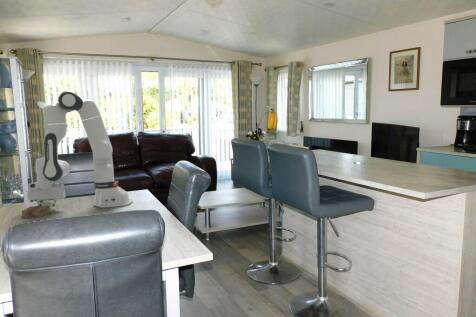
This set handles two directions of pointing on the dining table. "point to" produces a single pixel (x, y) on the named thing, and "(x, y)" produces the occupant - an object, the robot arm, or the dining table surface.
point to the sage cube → (48, 204)
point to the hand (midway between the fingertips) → (47, 206)
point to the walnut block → (35, 211)
